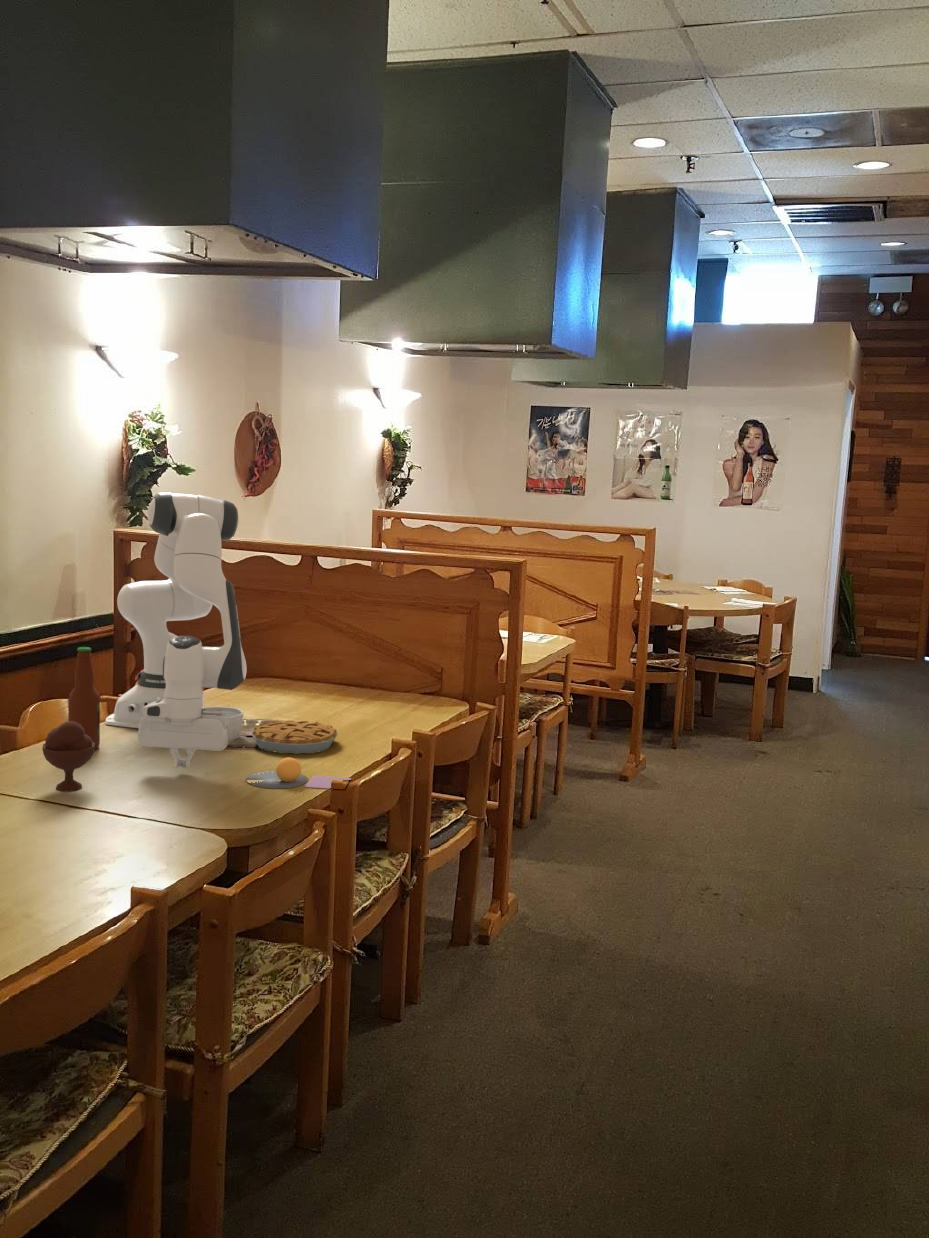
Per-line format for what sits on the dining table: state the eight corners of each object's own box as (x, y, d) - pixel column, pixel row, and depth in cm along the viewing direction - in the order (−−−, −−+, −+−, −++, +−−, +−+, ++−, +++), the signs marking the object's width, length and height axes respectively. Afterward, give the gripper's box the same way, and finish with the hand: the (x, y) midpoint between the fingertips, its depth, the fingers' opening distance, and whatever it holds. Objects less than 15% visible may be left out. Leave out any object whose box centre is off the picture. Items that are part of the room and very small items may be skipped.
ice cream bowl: (105, 784, 244) (106, 717, 242) (72, 797, 233) (72, 728, 231) (65, 777, 247) (65, 712, 245) (31, 790, 237) (30, 722, 235)
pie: (321, 760, 273) (321, 740, 272) (237, 751, 277) (238, 732, 276) (347, 739, 294) (348, 721, 293) (270, 732, 298) (270, 713, 297)
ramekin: (217, 747, 280) (217, 720, 279) (179, 738, 286) (180, 712, 286) (253, 737, 291) (253, 711, 290) (216, 729, 298) (217, 703, 297)
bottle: (106, 746, 274) (106, 647, 271) (84, 753, 268) (84, 651, 264) (83, 742, 277) (83, 644, 274) (61, 748, 271) (61, 648, 267)
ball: (298, 764, 249) (293, 787, 249) (306, 758, 254) (301, 781, 255) (275, 757, 249) (270, 780, 250) (284, 752, 255) (278, 774, 256)
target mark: (238, 786, 247) (238, 785, 247) (254, 769, 261) (254, 768, 261) (300, 790, 246) (300, 789, 246) (313, 773, 260) (313, 772, 260)
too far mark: (305, 787, 249) (305, 786, 249) (313, 776, 258) (313, 775, 258) (344, 790, 248) (344, 789, 248) (351, 779, 257) (351, 778, 257)
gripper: (232, 707, 255) (231, 765, 257) (145, 702, 256) (144, 760, 258) (224, 713, 249) (223, 773, 251) (135, 708, 250) (135, 767, 252)
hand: (182, 766), depth 255 cm, fingers closed
